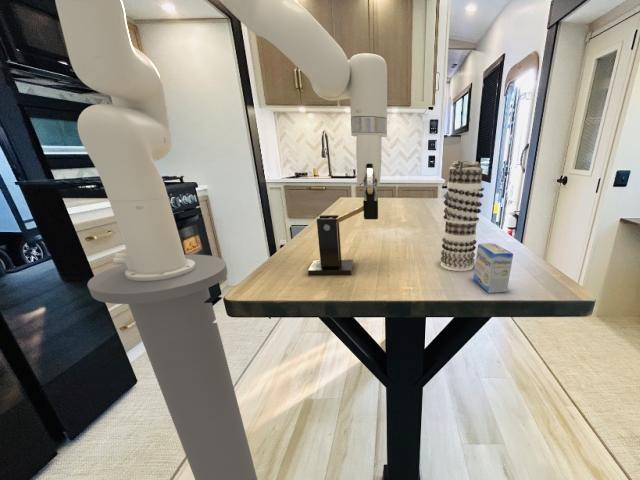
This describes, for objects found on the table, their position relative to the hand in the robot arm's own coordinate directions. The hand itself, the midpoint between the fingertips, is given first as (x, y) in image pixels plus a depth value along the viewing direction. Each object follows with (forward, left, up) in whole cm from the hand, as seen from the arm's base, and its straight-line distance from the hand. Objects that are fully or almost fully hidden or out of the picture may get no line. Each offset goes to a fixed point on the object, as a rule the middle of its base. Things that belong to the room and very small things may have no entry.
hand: (371, 215), depth 74 cm
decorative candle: (+22, +2, -13) cm, 26 cm away
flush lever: (-5, 0, -1) cm, 5 cm away
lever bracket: (-10, 0, -13) cm, 16 cm away
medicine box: (+26, -12, -13) cm, 32 cm away
